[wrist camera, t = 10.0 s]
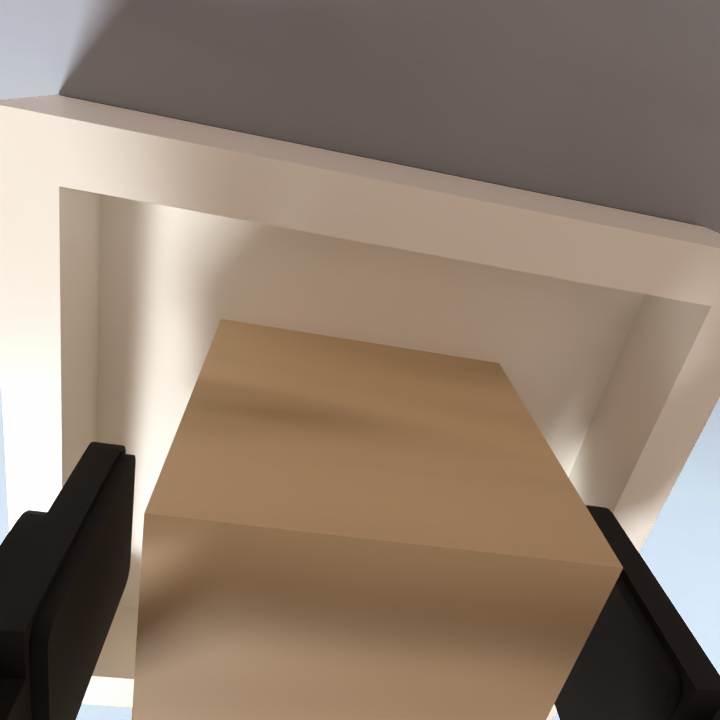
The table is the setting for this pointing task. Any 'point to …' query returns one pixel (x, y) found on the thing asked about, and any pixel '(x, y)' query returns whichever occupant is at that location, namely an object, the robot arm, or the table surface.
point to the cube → (360, 542)
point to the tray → (325, 302)
